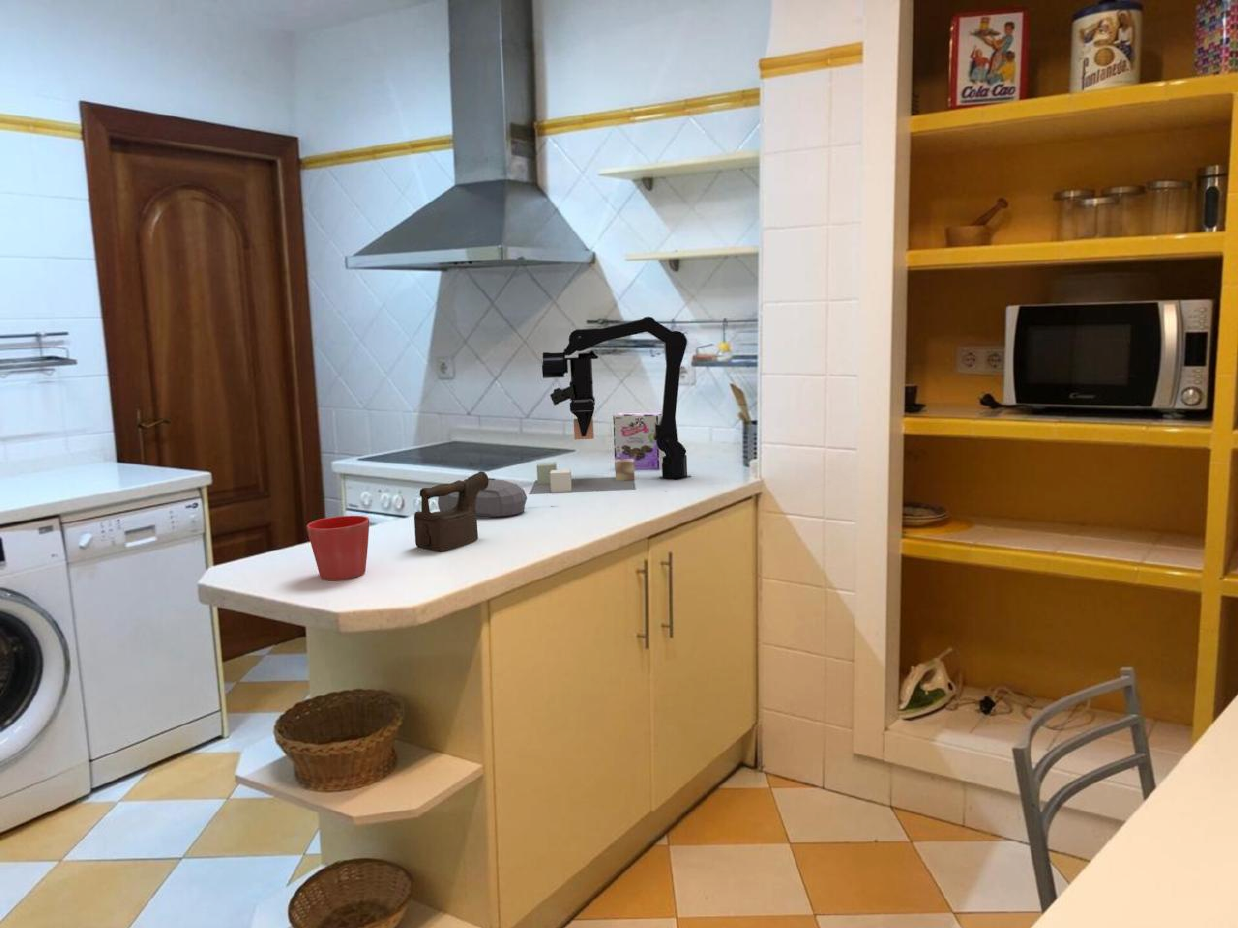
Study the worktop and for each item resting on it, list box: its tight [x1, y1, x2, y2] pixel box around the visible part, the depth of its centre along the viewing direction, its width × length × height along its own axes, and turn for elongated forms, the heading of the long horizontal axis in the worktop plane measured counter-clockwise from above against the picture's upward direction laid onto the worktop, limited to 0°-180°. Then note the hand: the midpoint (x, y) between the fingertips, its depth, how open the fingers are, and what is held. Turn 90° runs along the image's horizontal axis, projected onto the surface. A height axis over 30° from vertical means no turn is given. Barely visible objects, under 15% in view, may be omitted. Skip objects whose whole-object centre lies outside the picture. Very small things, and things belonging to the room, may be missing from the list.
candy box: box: [613, 412, 666, 471], centre depth 277 cm, size 14×6×16 cm, turn 68°
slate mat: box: [528, 476, 637, 495], centre depth 252 cm, size 27×21×1 cm
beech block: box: [614, 459, 636, 481], centre depth 259 cm, size 5×5×5 cm
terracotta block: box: [573, 417, 594, 440], centre depth 257 cm, size 5×5×5 cm
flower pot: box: [306, 515, 370, 581], centre depth 170 cm, size 11×11×10 cm
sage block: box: [536, 461, 558, 484], centre depth 258 cm, size 5×5×5 cm
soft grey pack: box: [437, 477, 528, 518], centre depth 222 cm, size 15×8×20 cm
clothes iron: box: [413, 470, 489, 553], centre depth 191 cm, size 8×16×13 cm, turn 138°
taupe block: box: [550, 468, 572, 494], centre depth 245 cm, size 5×5×5 cm
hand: (584, 434), depth 257 cm, fingers closed on terracotta block, 5 cm apart
